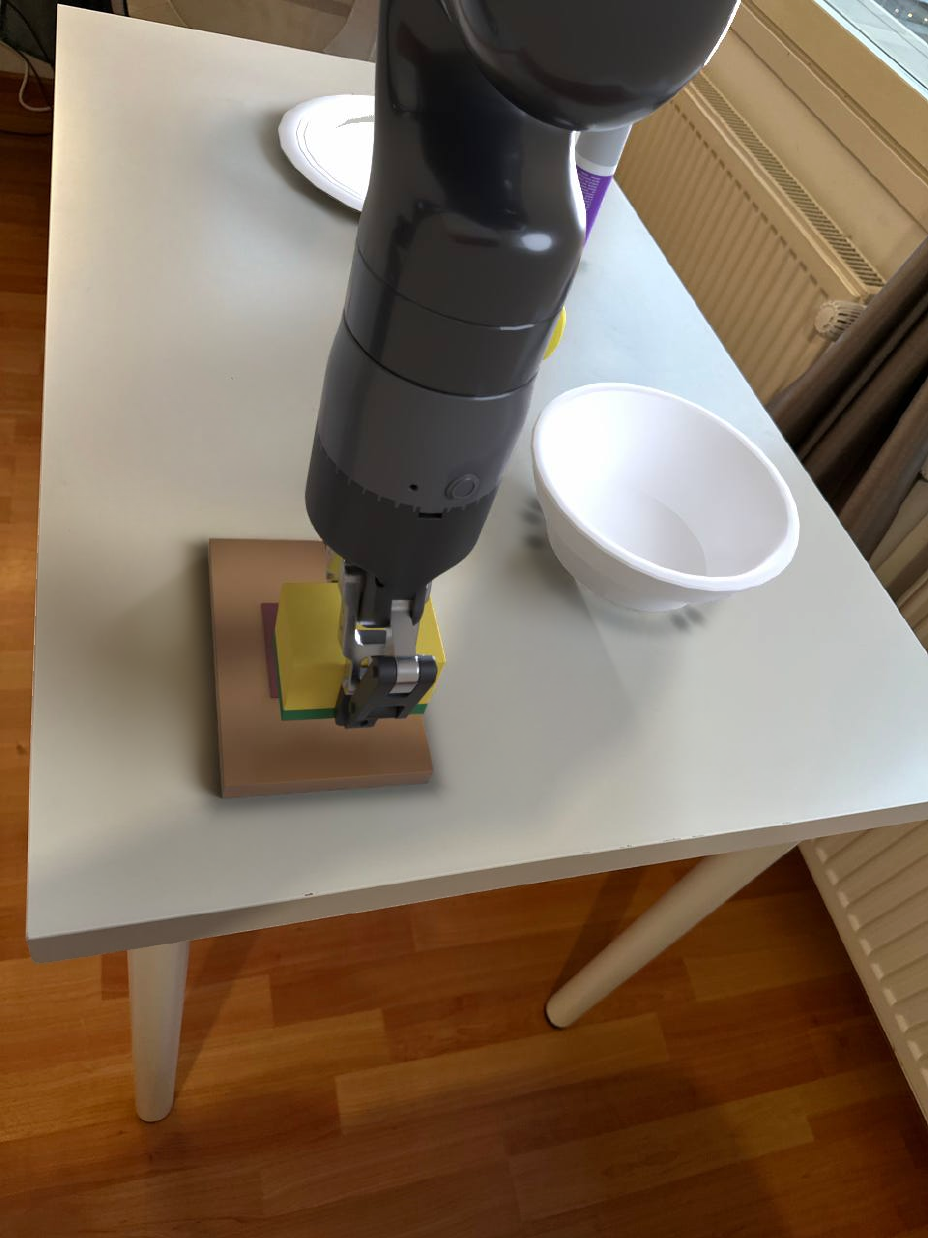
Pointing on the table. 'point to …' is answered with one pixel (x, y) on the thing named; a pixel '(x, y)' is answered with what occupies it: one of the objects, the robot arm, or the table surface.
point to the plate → (331, 145)
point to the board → (248, 690)
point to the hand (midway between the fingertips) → (347, 673)
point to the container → (597, 167)
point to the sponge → (326, 650)
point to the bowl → (658, 498)
